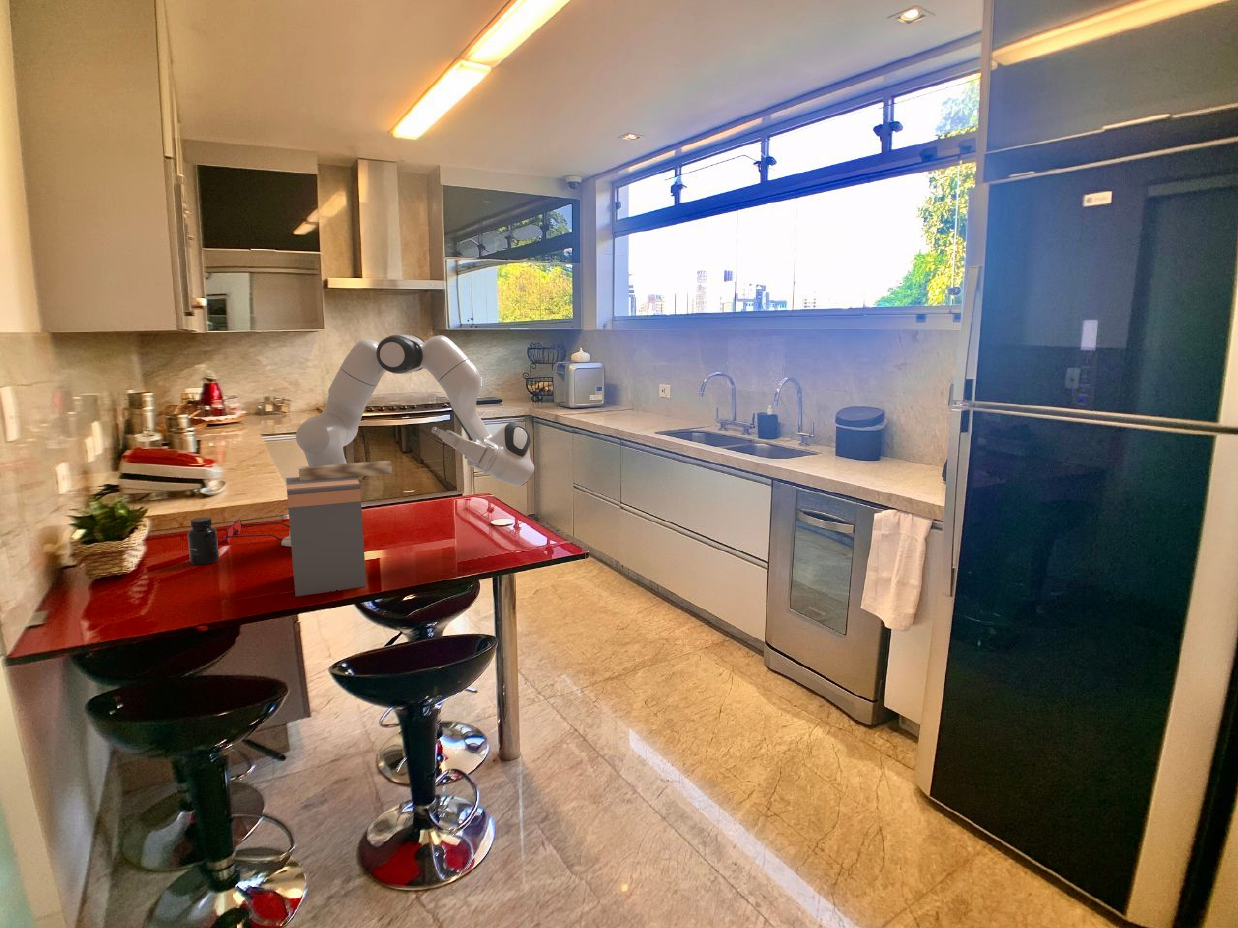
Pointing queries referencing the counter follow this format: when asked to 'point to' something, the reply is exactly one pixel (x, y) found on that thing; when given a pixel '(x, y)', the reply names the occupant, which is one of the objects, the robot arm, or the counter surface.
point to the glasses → (238, 529)
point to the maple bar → (345, 470)
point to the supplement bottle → (202, 542)
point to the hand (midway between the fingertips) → (436, 431)
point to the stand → (326, 534)
